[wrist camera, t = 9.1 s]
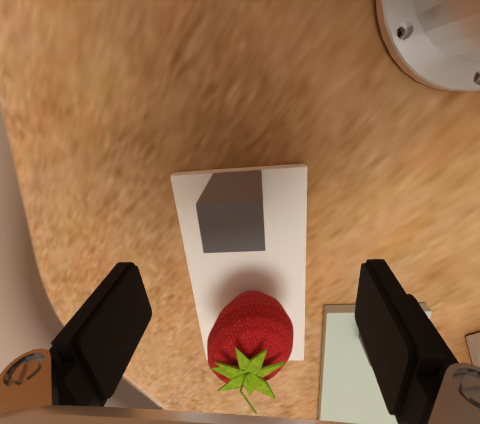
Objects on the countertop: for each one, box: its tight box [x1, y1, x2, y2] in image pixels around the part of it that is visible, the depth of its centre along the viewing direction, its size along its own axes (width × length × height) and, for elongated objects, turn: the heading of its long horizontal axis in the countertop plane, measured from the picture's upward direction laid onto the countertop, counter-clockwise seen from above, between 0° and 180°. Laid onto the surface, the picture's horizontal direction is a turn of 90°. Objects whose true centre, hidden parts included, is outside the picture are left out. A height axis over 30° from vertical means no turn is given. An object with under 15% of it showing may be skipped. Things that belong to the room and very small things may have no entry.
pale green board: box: [318, 303, 432, 424], centre depth 27 cm, size 20×9×4 cm, turn 5°
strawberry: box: [207, 291, 294, 414], centre depth 20 cm, size 6×8×10 cm
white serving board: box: [170, 163, 307, 360], centre depth 21 cm, size 20×10×7 cm, turn 5°
